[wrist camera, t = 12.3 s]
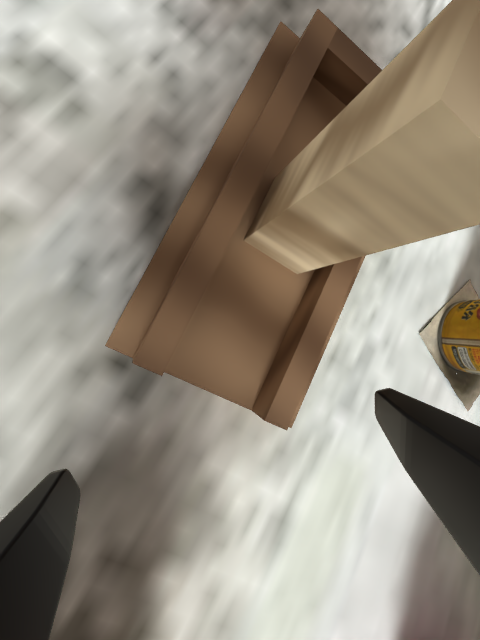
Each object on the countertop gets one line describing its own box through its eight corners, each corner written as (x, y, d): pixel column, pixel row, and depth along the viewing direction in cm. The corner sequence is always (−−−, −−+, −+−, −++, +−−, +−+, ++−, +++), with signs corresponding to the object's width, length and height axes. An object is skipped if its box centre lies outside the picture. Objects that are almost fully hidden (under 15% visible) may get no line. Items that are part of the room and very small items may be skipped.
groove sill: (280, 420, 21) (308, 439, 18) (107, 343, 17) (101, 349, 14) (397, 152, 24) (440, 125, 21) (270, 41, 21) (296, -12, 17)
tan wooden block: (296, 274, 20) (546, 205, 8) (243, 240, 18) (440, 99, 7) (325, 213, 20) (595, 65, 8) (275, 177, 19) (507, -54, 7)
